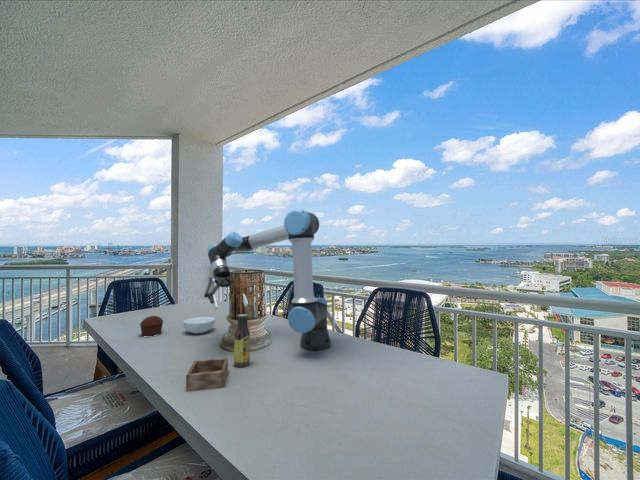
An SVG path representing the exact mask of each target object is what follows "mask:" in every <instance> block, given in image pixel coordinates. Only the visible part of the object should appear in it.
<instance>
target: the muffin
mask: <svg viewBox="0 0 640 480" xmlns="http://www.w3.org/2000/svg"><path fill="white" fill-rule="evenodd" d="M163 323H164V320H163V319H162V317H160V316H158V315H150V316H147V317H145V318H144V319H143V320H142V321H141V322H140V324H139V326H140V331H141V336H142V335H143V336H153V337H155V336H154V335H157V334H160V333H162V329H163ZM160 335H161V334H160ZM143 336H142V337H143ZM157 336H158V335H157Z"/></svg>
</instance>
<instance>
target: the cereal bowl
mask: <svg viewBox="0 0 640 480" xmlns="http://www.w3.org/2000/svg"><path fill="white" fill-rule="evenodd" d="M182 323H183V325H182V326H183V328H184V330H185V331H187V332H189V333H191V334H192V333H196V334H195V335H198V334H197V333H202V334H204V333H203V332H205V333H207V332H208V331H210V330H211V329H213V328H214V326H215V324H216V319H215V317H211V316H201V317H200V316H198V317H192V318H187V319H184V320H183V322H182ZM206 331H207V332H206Z"/></svg>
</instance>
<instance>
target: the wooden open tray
mask: <svg viewBox="0 0 640 480" xmlns="http://www.w3.org/2000/svg"><path fill="white" fill-rule="evenodd" d="M228 372H229V358H228V357H224V358H214V359H213V358H211V359H200V360H199V359H198V360H194V361H193V363H192V365H191V366H190V368H189V369H188V372H187V373H186V376H185V381H186V382H185V391H186V392H189V391H190V392H191V391H200V390H208V389H210V390H211V389H217V388H225V385H226V381H227V377H228Z"/></svg>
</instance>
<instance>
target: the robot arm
mask: <svg viewBox="0 0 640 480" xmlns="http://www.w3.org/2000/svg"><path fill="white" fill-rule="evenodd" d="M319 228H320V220H319V217H318V216H316V214H314V213H313V212H309V211H307V210H305V209H299V208H294V209H291V211H289V212H287V214H286V215H285V217H284V220H283V225H279V226H277V227H273V228H270V229H267V230H263V231H259V232H256V233H253V234H250V235H247V236H242V235H240V234H239V233H238V232H236V231H231V232H229V233H228V234H227V235H225V237H224V238H223V239H222V240H221V241H220V242H219V243H213V244H212V245H210V246H208V248H207V257H208V260H209V263H210V266H211V271H212V275H213V277H214V278H212V277H209V279H208V280H207V283H208V285H207V288H206V290H205V292H204V295H203V297H204V298H207V299H208V300H209V303H210V304H212V306H213V309H214V310H213V311H215V312H216V311H217V310H218V308H219V305H218V303H217V298H216V294H215V293H216V292H217V291H218V290H219V289H220V288H229V286H230V284H231V285H232V281H231V280H230V273H231V270H230V268H229V265H228V262H227V258H228V257H229V256H230V255H231V254H232V253H233V252H251V251H253V250H255V249H257V248H262V247H264V246H265V247H266V246H268V245H273V244H276V243H280V242H283V241H286V240H288V241H289V242H290V243H291V248H292V270H293V274H292V275H293V292H294V293H293V295H294V296H293V299H292V300H291V301H290V302H291V303H290V306H291V307H290V308H291V309H290V310H289V313H288V315H287V321H288V325H289V326H290V328H291V329H292V330H293V331H294V332H297V333H298V334H301V337H300V339H299V347H301V348H302V349H304V350H309V351H321V350H325V349H326V350H327V349H329V348H330V347H331V346H332V340H331V337H330V334H329V331H328V301H327V299H326V298H324V297H315V296H314V295H315V294H314V280H313V279H314V277H313V276H314V275H313V257H312V256H313V255H312V254H313V253H312V243H313V241H314V239H315V234H316V233H317V232H318V231H319ZM214 283H215V286H214V287H213V289H212V290H211V287H212V284H214ZM210 290H211V291H210ZM247 296H248V295H247ZM247 296H246V295H245V294H244V293H243V300H242V302H243V306H244V308H247V307H248V305H249V302H248V299H249V296H248V297H247Z"/></svg>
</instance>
